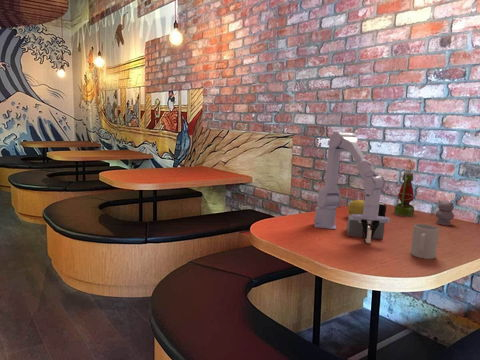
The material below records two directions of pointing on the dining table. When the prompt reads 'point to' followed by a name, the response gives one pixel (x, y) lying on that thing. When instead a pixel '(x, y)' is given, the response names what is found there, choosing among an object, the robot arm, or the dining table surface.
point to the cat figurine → (444, 212)
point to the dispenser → (357, 229)
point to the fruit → (356, 207)
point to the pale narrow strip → (368, 235)
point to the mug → (424, 241)
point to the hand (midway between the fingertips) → (368, 238)
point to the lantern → (405, 195)
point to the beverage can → (382, 209)
